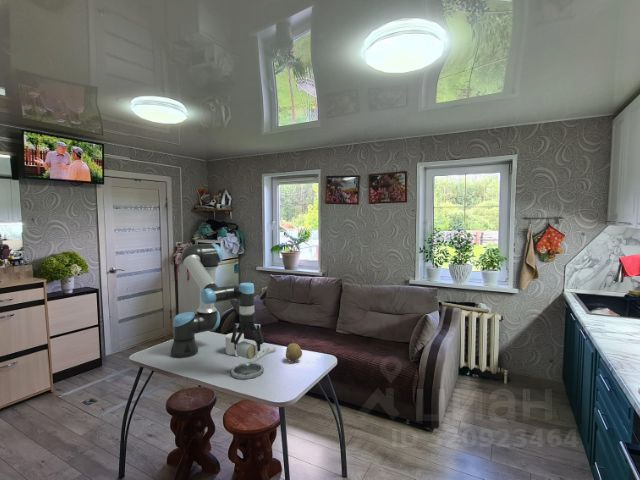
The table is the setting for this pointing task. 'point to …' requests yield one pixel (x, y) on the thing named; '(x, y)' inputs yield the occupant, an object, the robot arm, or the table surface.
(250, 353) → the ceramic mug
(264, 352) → the adjustable wrench
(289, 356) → the natural sponge
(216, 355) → the table surface
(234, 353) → the toilet tissue
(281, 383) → the table surface
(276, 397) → the table surface
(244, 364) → the flange seat
